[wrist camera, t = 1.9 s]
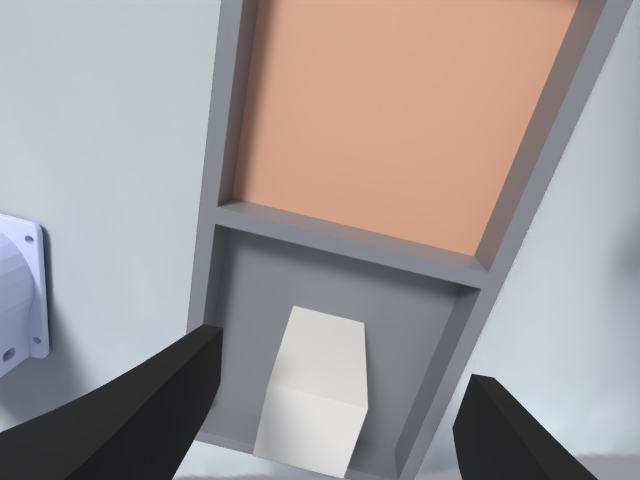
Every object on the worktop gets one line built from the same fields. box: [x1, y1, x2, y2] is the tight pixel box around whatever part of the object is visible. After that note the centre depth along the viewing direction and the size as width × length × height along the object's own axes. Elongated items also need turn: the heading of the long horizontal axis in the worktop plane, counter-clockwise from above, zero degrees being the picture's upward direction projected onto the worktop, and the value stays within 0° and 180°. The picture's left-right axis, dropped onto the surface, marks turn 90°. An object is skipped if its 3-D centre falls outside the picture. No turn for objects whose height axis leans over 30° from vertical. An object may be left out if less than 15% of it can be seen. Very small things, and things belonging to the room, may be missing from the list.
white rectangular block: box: [253, 306, 368, 479], centre depth 17 cm, size 4×4×6 cm
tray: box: [186, 0, 633, 480], centre depth 17 cm, size 28×14×3 cm, turn 167°
